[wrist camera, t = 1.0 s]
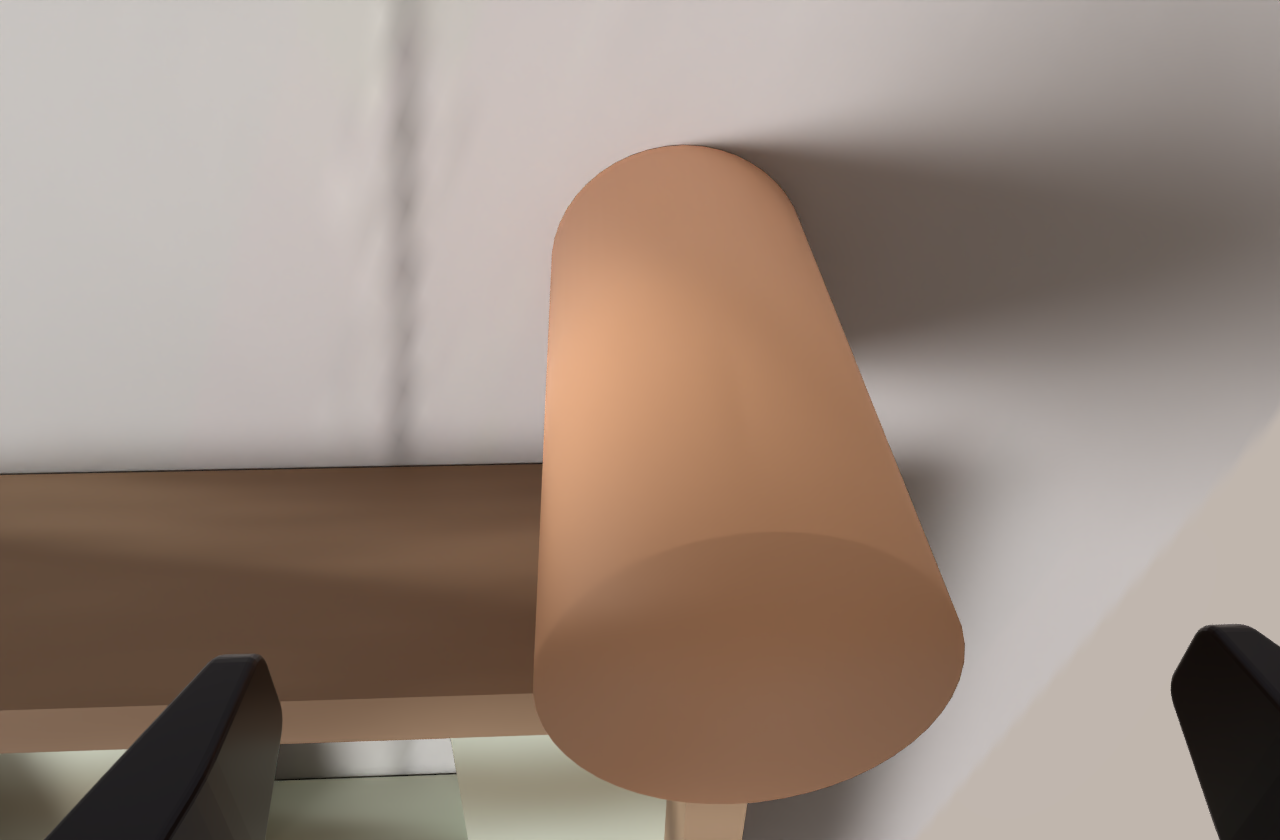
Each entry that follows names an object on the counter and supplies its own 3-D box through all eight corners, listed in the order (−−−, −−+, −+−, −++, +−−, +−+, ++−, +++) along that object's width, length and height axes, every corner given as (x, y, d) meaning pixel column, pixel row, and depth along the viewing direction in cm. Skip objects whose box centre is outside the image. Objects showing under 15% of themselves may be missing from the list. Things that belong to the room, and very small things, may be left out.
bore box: (688, 854, 26) (707, 1062, 22) (83, 878, 26) (-7, 1099, 22) (723, 460, 18) (765, 685, 14) (-184, 478, 17) (-413, 723, 13)
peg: (789, 369, 17) (918, 797, 10) (555, 372, 16) (542, 811, 10) (820, 144, 14) (1013, 525, 8) (546, 145, 14) (520, 537, 8)
